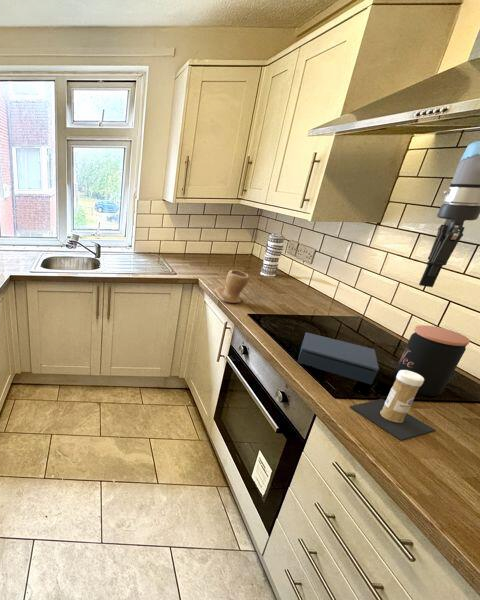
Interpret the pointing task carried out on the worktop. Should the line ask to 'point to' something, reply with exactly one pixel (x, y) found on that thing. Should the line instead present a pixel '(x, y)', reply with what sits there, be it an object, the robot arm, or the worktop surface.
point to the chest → (337, 367)
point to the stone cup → (233, 286)
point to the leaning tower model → (272, 255)
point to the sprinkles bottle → (401, 395)
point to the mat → (398, 430)
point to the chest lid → (340, 351)
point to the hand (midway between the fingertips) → (425, 285)
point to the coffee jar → (432, 357)
